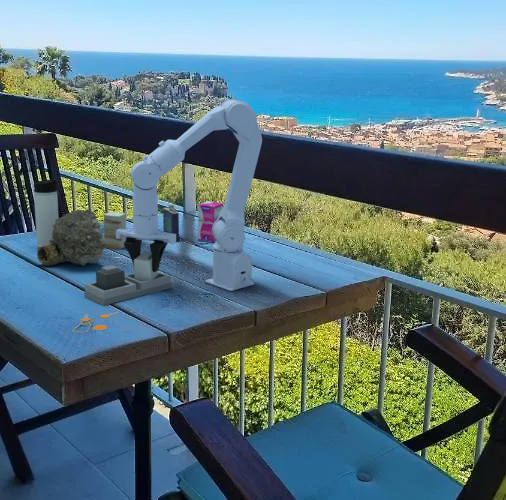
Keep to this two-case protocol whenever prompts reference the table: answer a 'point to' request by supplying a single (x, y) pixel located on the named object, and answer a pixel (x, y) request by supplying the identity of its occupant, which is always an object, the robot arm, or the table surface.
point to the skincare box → (114, 229)
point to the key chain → (86, 319)
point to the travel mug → (45, 210)
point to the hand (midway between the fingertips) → (146, 269)
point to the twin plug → (110, 278)
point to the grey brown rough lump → (74, 240)
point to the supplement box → (207, 220)
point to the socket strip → (127, 289)
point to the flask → (171, 221)
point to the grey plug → (144, 267)
